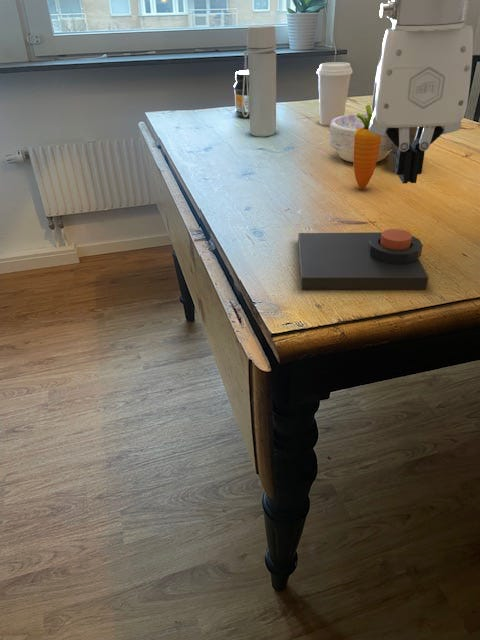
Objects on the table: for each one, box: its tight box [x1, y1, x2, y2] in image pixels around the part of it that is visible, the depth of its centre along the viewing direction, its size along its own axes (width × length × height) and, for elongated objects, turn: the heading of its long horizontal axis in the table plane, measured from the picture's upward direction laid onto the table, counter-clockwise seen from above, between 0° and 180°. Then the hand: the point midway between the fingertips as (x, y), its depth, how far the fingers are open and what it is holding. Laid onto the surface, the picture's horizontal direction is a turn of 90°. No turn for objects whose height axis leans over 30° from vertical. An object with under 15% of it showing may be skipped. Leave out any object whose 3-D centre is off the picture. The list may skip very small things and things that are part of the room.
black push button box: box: [297, 231, 429, 291], centre depth 70 cm, size 16×14×4 cm
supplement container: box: [233, 69, 250, 119], centre depth 151 cm, size 10×10×12 cm
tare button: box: [380, 228, 413, 250], centre depth 68 cm, size 4×4×2 cm
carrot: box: [352, 104, 381, 191], centre depth 92 cm, size 5×5×15 cm
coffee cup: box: [316, 61, 353, 127], centre depth 138 cm, size 10×10×15 cm
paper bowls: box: [328, 113, 393, 163], centre depth 111 cm, size 15×15×8 cm
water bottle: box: [242, 24, 278, 138], centre depth 127 cm, size 9×8×25 cm
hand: (406, 179), depth 64 cm, fingers closed
